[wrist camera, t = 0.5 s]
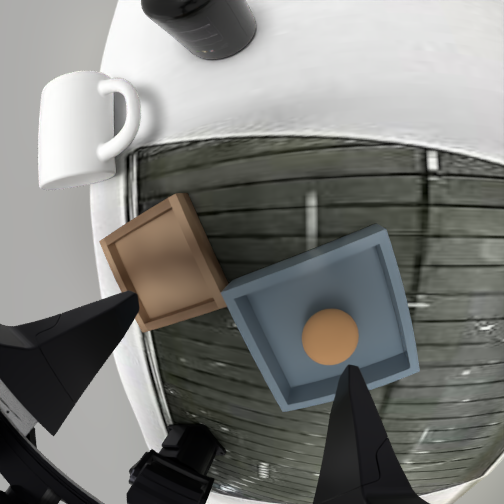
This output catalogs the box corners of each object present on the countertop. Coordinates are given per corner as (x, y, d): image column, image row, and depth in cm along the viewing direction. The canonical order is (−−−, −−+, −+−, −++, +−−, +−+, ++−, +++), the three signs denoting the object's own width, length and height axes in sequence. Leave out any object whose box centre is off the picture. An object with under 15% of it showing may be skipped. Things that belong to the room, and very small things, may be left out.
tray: (234, 296, 24) (227, 306, 22) (153, 323, 27) (142, 332, 25) (187, 193, 23) (175, 193, 21) (113, 237, 26) (99, 241, 24)
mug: (80, 188, 26) (25, 193, 18) (79, 108, 24) (28, 98, 16) (166, 164, 23) (108, 158, 16) (161, 70, 21) (111, 40, 14)
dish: (410, 352, 22) (419, 371, 19) (287, 391, 25) (282, 411, 22) (376, 223, 20) (386, 228, 17) (232, 279, 24) (220, 292, 21)
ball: (361, 336, 22) (368, 365, 18) (313, 352, 23) (311, 383, 19) (346, 292, 21) (352, 315, 17) (295, 310, 23) (290, 336, 18)
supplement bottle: (195, 12, 19) (134, -53, 7) (262, 7, 18) (223, -77, 6) (180, 64, 21) (99, 7, 9) (251, 62, 19) (196, -21, 8)
